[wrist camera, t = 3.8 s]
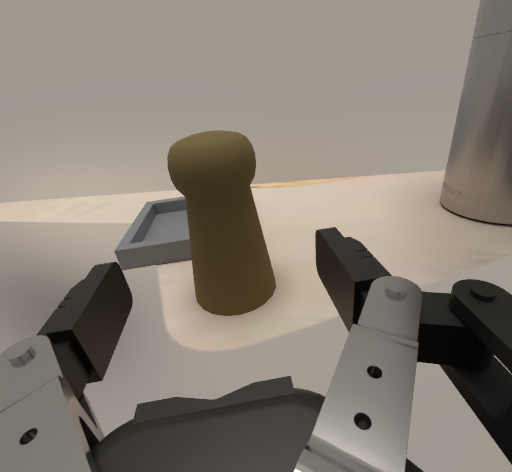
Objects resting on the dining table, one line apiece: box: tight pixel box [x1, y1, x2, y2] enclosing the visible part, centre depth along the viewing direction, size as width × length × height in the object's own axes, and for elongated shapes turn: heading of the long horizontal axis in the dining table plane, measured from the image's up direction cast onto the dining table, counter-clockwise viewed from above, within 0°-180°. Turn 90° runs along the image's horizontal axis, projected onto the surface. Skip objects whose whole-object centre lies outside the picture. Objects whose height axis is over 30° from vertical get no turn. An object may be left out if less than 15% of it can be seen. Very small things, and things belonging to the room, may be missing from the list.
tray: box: [115, 197, 192, 270], centre depth 30 cm, size 12×12×2 cm
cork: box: [168, 131, 276, 316], centre depth 19 cm, size 6×6×11 cm
